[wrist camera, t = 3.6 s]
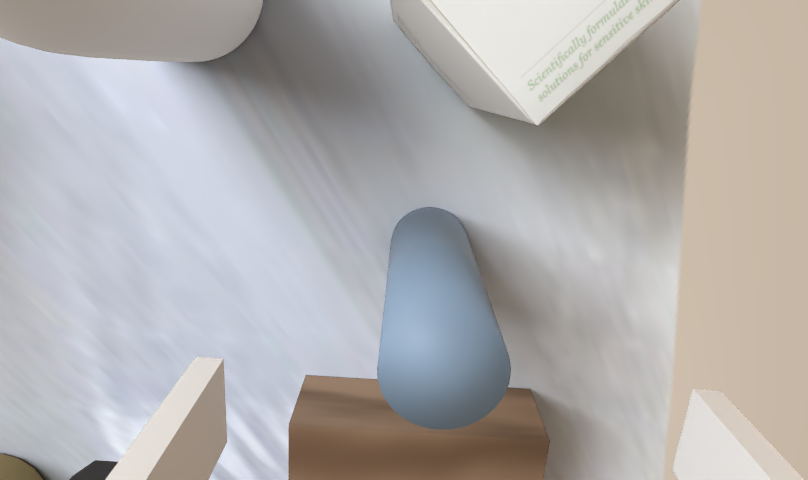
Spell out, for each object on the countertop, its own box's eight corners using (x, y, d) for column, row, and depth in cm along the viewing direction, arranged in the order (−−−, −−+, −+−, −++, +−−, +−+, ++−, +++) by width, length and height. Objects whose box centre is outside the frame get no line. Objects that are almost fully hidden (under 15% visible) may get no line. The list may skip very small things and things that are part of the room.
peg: (463, 282, 32) (502, 433, 19) (388, 278, 32) (374, 425, 19) (471, 209, 31) (518, 316, 17) (393, 204, 31) (380, 307, 17)
